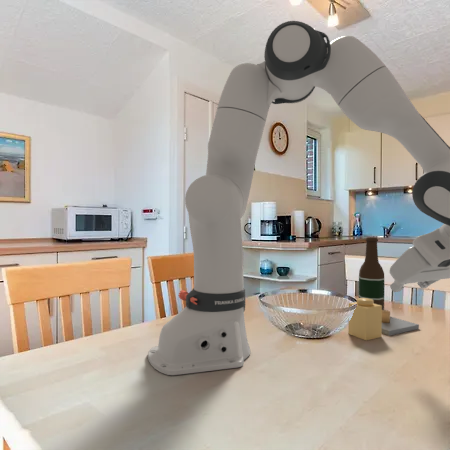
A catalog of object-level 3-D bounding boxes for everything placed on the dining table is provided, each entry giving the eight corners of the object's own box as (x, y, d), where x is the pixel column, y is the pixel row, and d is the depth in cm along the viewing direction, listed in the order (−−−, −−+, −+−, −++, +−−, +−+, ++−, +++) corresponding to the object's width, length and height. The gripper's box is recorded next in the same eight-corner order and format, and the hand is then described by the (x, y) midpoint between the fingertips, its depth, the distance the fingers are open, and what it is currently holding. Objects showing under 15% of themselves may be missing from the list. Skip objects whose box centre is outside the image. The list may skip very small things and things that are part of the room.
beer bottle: (385, 309, 115) (386, 237, 115) (382, 315, 109) (383, 238, 108) (360, 306, 119) (361, 236, 119) (356, 311, 113) (356, 237, 112)
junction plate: (389, 335, 90) (389, 319, 90) (352, 323, 100) (352, 308, 100) (418, 328, 95) (419, 313, 95) (381, 317, 106) (381, 304, 106)
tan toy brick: (365, 340, 86) (366, 303, 86) (348, 333, 91) (348, 298, 91) (381, 337, 89) (381, 300, 89) (363, 330, 94) (363, 296, 93)
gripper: (470, 235, 77) (427, 273, 86) (411, 237, 68) (368, 279, 76) (493, 257, 73) (445, 294, 82) (433, 262, 64) (386, 304, 73)
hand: (407, 287), depth 79 cm, fingers open, 8 cm apart
